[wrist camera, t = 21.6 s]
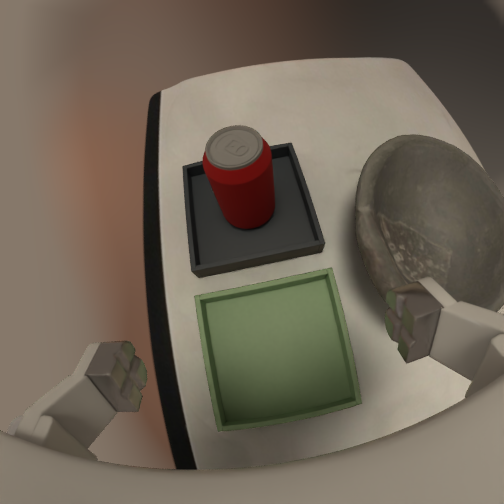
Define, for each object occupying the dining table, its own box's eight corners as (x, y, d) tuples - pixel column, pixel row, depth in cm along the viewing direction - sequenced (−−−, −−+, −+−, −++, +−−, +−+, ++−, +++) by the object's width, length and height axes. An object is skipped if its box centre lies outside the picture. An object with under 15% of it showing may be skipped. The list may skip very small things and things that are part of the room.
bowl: (487, 330, 26) (535, 318, 17) (339, 339, 29) (363, 333, 20) (464, 184, 34) (493, 147, 25) (335, 167, 37) (346, 116, 28)
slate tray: (198, 277, 34) (191, 271, 31) (188, 177, 39) (182, 166, 36) (322, 252, 33) (325, 243, 30) (291, 155, 38) (291, 142, 36)
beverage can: (245, 177, 37) (230, 112, 26) (286, 202, 35) (285, 137, 24) (212, 213, 36) (183, 154, 25) (253, 242, 34) (237, 186, 23)
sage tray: (223, 425, 27) (217, 431, 25) (201, 300, 33) (194, 295, 30) (355, 399, 27) (362, 403, 24) (328, 274, 32) (331, 267, 29)
